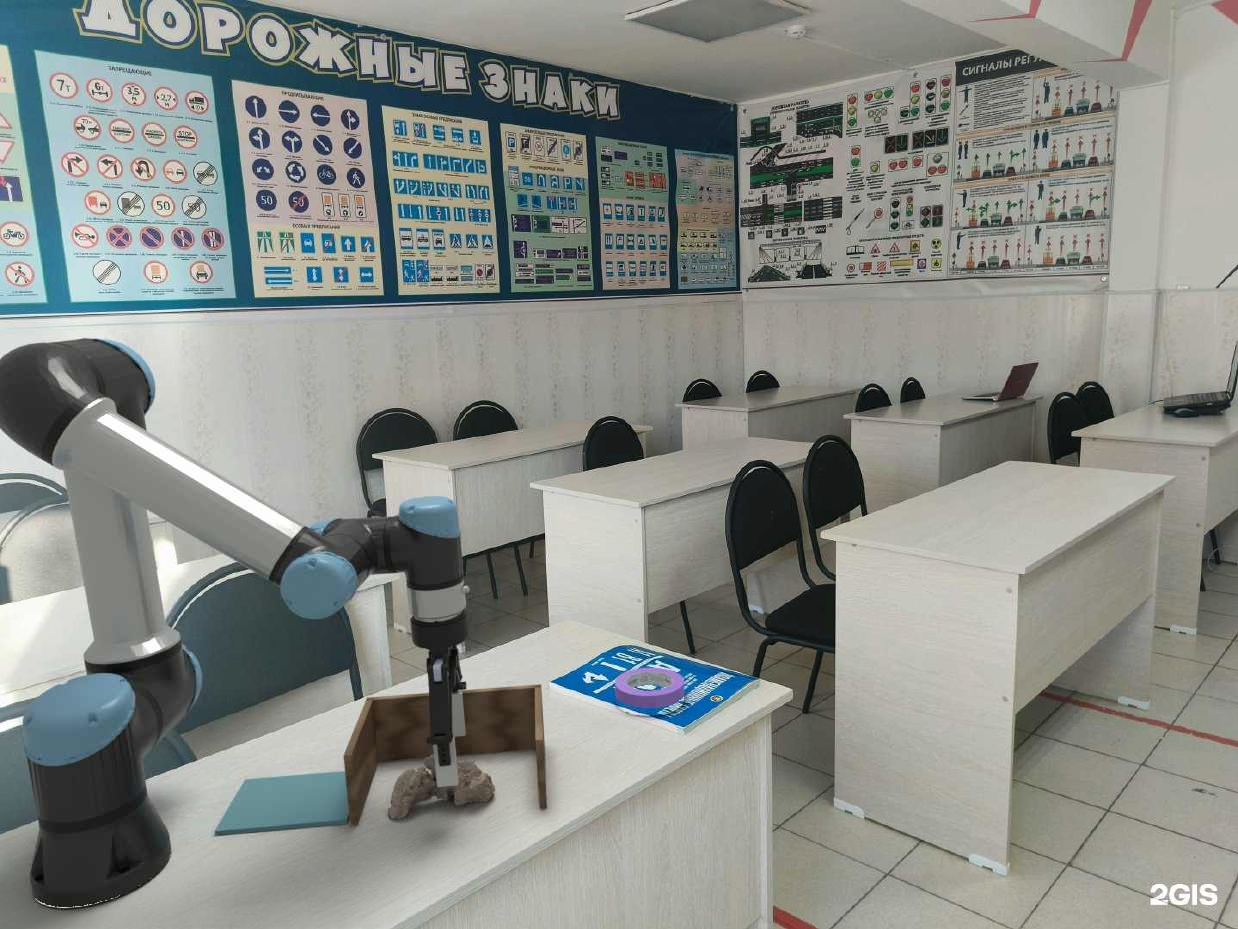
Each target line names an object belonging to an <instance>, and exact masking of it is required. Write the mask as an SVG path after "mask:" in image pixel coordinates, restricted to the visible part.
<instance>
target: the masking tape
mask: <svg viewBox="0 0 1238 929" xmlns="http://www.w3.org/2000/svg"><path fill="white" fill-rule="evenodd" d="M644 685H655V686H661V687H666V688H663V689H660V690H653V691H644V690H637V689H634V688H633V687H638V686H644ZM614 691H615V693H614V694H615V695H614V696H616V698H615V700H616V699H618V700H619V701H620V702H622V703H624V704H625V705H631V706H634V707H641V708H660V707H665V706H668V705H673V704H675V703H677V702H679V700H681V699H682V698H683V697H684V698H685V679H684V677H683V676H682V675H681V674H679V672H676V671H674V670H671V669H667V668H661V667H641V668H636V669H630V670H628V671H625V672H622V673H621V674H620V675H618V676H616V679H615V681H614Z"/></svg>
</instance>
